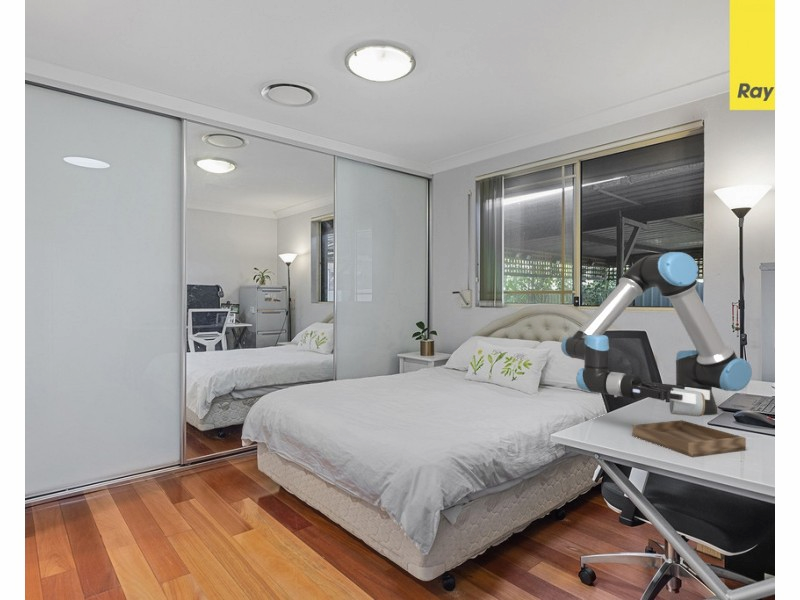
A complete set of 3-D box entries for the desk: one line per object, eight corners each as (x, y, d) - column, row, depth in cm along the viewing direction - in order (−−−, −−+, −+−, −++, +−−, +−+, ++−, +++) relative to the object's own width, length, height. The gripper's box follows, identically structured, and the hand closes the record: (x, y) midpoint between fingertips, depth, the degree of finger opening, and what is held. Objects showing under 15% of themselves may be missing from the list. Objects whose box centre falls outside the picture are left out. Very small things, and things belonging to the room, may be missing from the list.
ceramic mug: (706, 419, 131) (706, 392, 132) (673, 416, 134) (673, 389, 135) (697, 412, 141) (697, 386, 142) (666, 409, 144) (667, 384, 144)
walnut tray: (681, 431, 149) (681, 420, 149) (745, 450, 130) (745, 437, 130) (632, 436, 143) (632, 424, 143) (692, 457, 124) (692, 444, 124)
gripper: (640, 393, 157) (716, 405, 140) (607, 401, 144) (687, 415, 126) (640, 371, 157) (717, 380, 140) (607, 376, 144) (688, 388, 126)
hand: (703, 397), depth 133 cm, fingers closed on ceramic mug, 9 cm apart
